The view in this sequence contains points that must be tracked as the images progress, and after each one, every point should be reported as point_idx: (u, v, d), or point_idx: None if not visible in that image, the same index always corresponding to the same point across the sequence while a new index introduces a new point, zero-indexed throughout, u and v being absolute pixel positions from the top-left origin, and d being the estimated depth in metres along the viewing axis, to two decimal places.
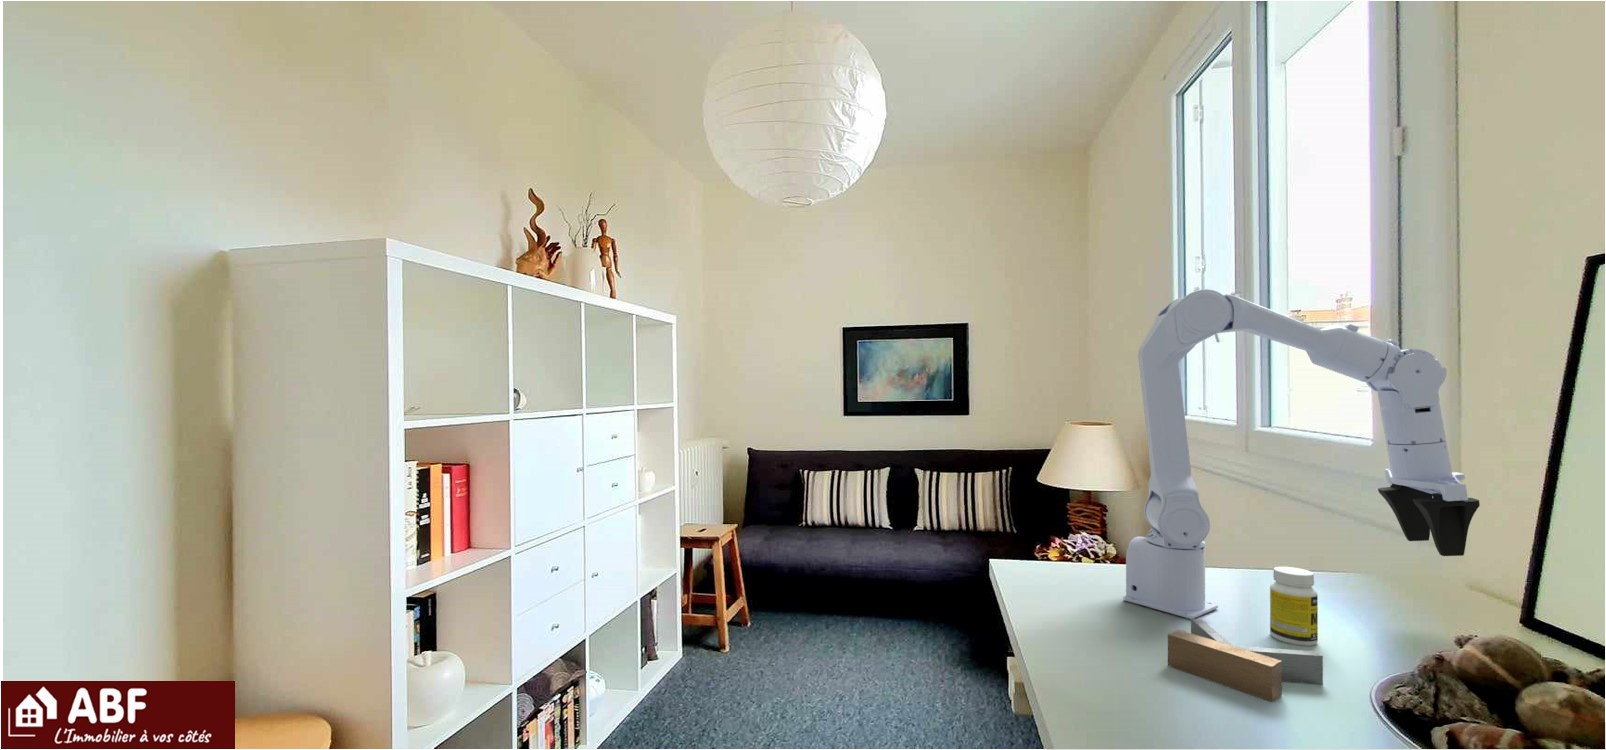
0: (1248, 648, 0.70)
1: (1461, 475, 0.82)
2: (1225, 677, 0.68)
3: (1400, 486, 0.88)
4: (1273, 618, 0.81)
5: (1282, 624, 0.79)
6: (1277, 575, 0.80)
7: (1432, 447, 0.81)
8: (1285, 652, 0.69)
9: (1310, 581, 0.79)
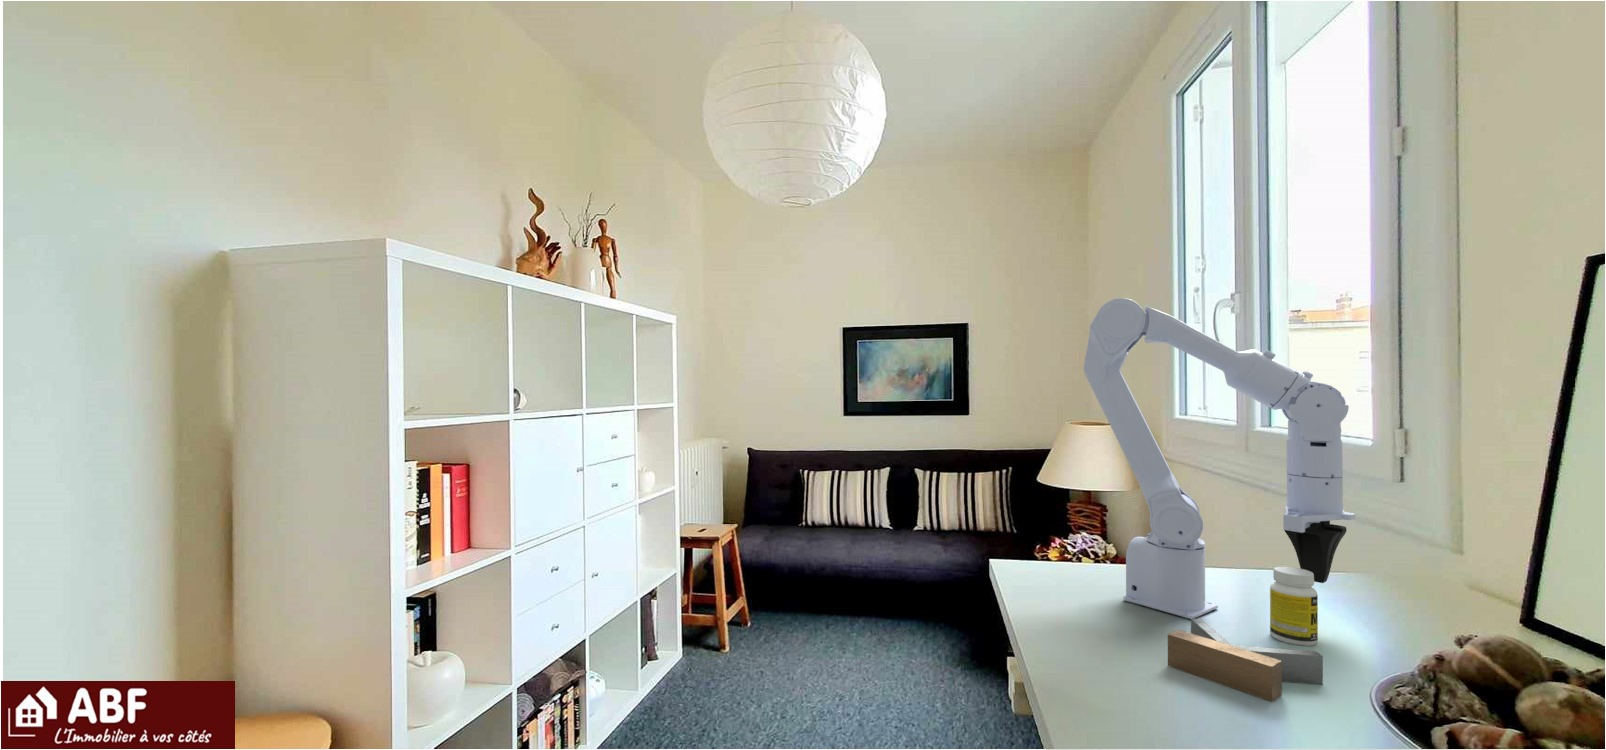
0: (1248, 648, 0.70)
1: (1346, 515, 0.81)
2: (1225, 677, 0.68)
3: None
4: (1273, 618, 0.81)
5: (1282, 624, 0.79)
6: (1277, 575, 0.80)
7: (1309, 481, 0.83)
8: (1285, 652, 0.69)
9: (1310, 581, 0.79)
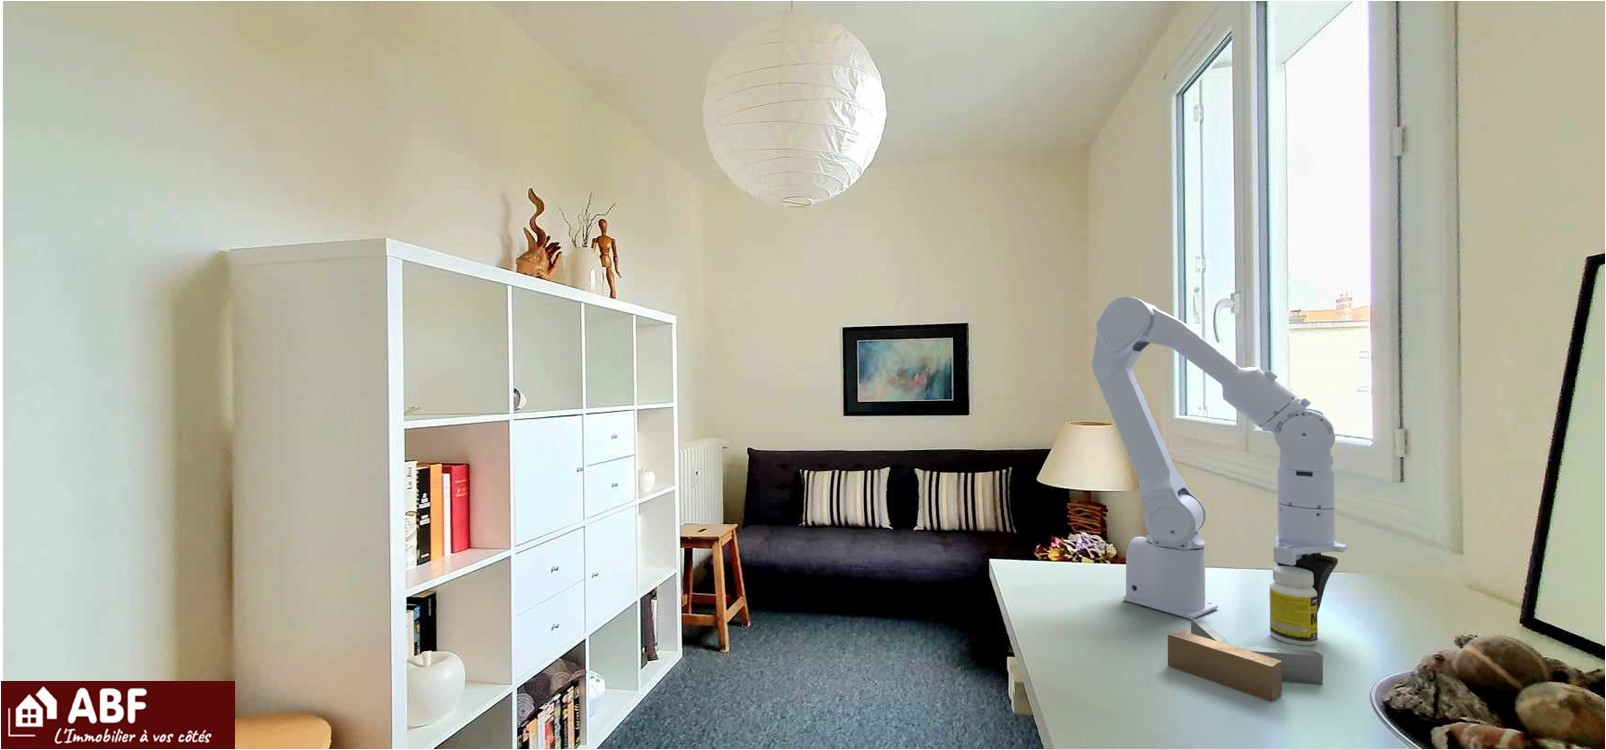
0: (1248, 648, 0.70)
1: (1337, 547, 0.79)
2: (1225, 677, 0.68)
3: None
4: (1273, 618, 0.80)
5: (1282, 624, 0.79)
6: (1277, 576, 0.80)
7: (1301, 511, 0.81)
8: (1285, 652, 0.69)
9: (1309, 581, 0.78)
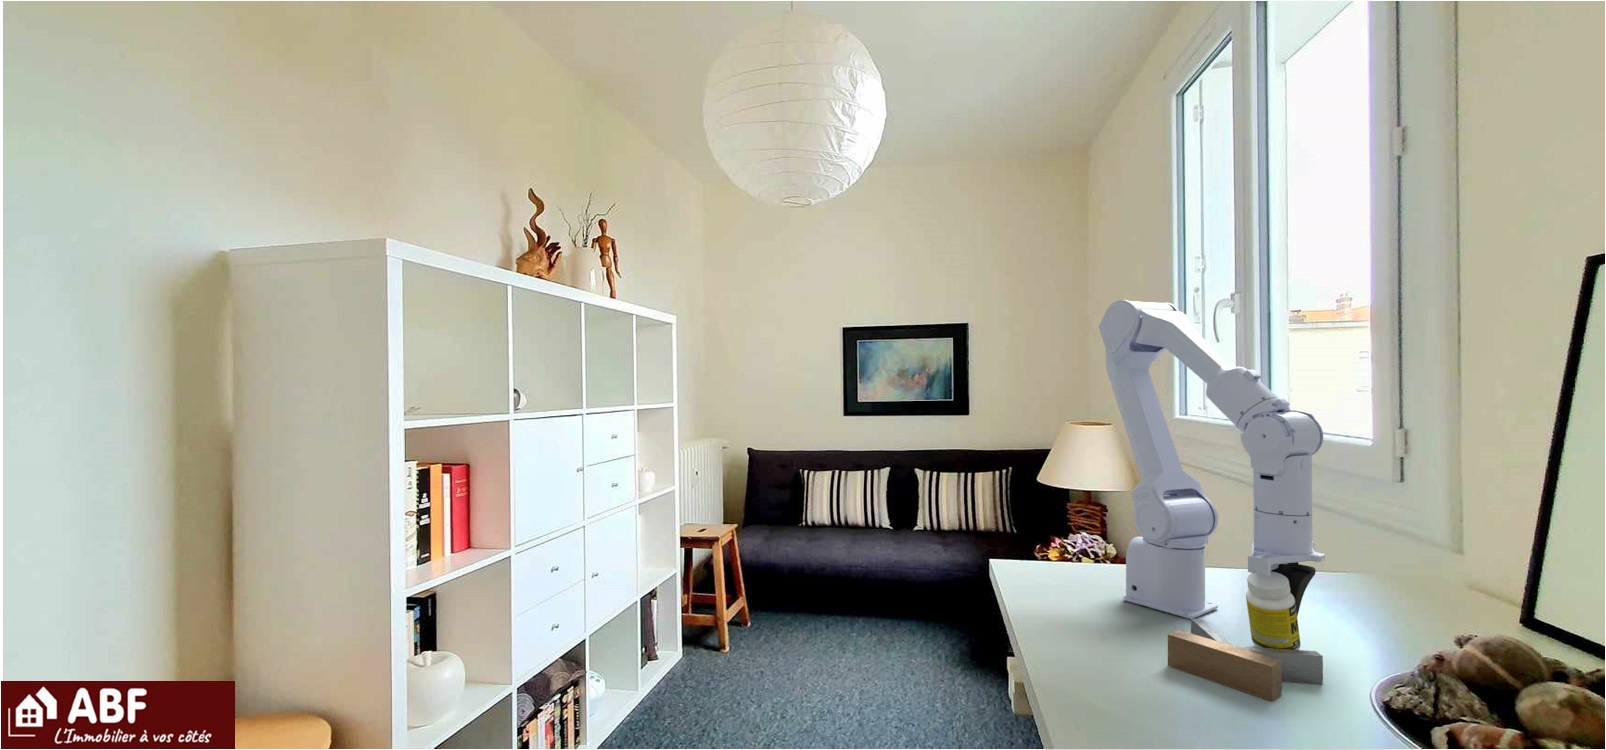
0: (1248, 648, 0.70)
1: (1315, 556, 0.75)
2: (1225, 677, 0.68)
3: None
4: (1253, 629, 0.77)
5: (1263, 636, 0.76)
6: (1252, 588, 0.76)
7: (1277, 518, 0.77)
8: (1285, 652, 0.69)
9: (1286, 591, 0.74)
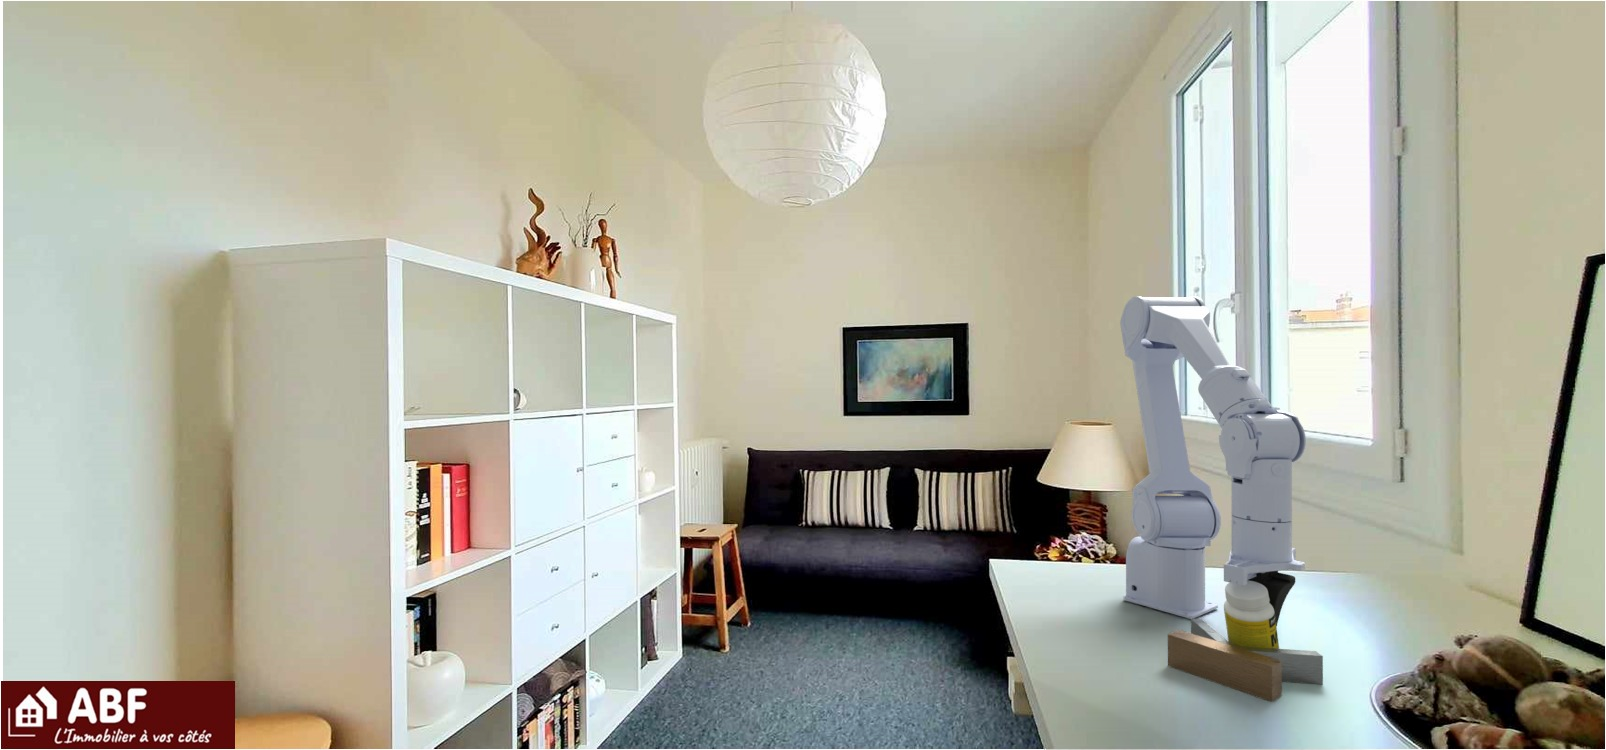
0: (1248, 648, 0.70)
1: (1294, 565, 0.72)
2: (1225, 677, 0.68)
3: None
4: (1232, 641, 0.73)
5: None
6: (1230, 599, 0.72)
7: (1255, 525, 0.73)
8: (1285, 652, 0.69)
9: (1265, 601, 0.71)
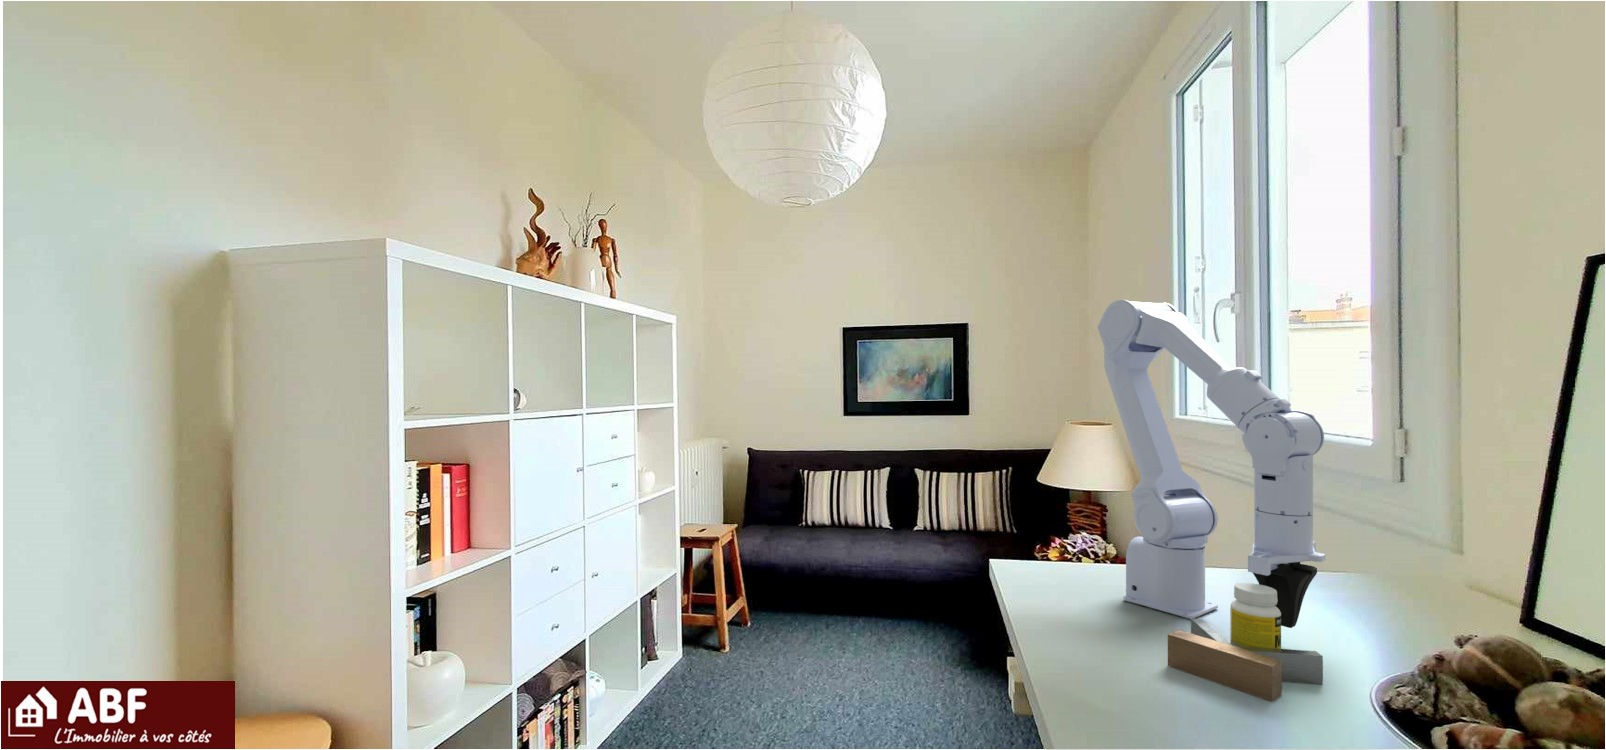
0: (1248, 648, 0.70)
1: (1315, 556, 0.75)
2: (1225, 677, 0.68)
3: None
4: (1235, 640, 0.74)
5: None
6: (1239, 593, 0.73)
7: (1277, 518, 0.77)
8: (1285, 652, 0.69)
9: (1274, 599, 0.72)
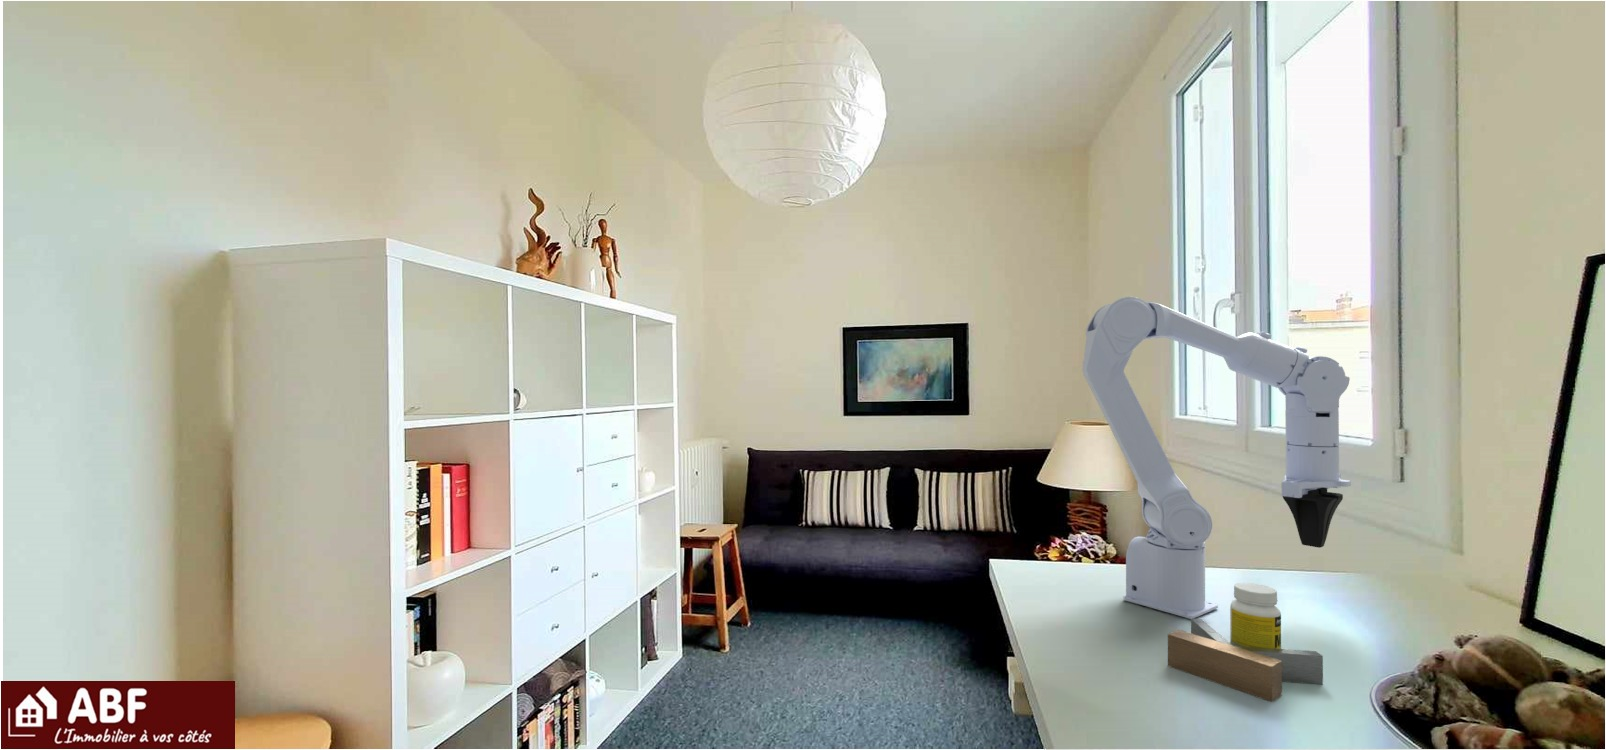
0: (1248, 648, 0.70)
1: (1341, 482, 0.85)
2: (1225, 677, 0.68)
3: None
4: (1235, 640, 0.74)
5: None
6: (1239, 593, 0.74)
7: (1307, 450, 0.87)
8: (1285, 652, 0.69)
9: (1273, 599, 0.72)
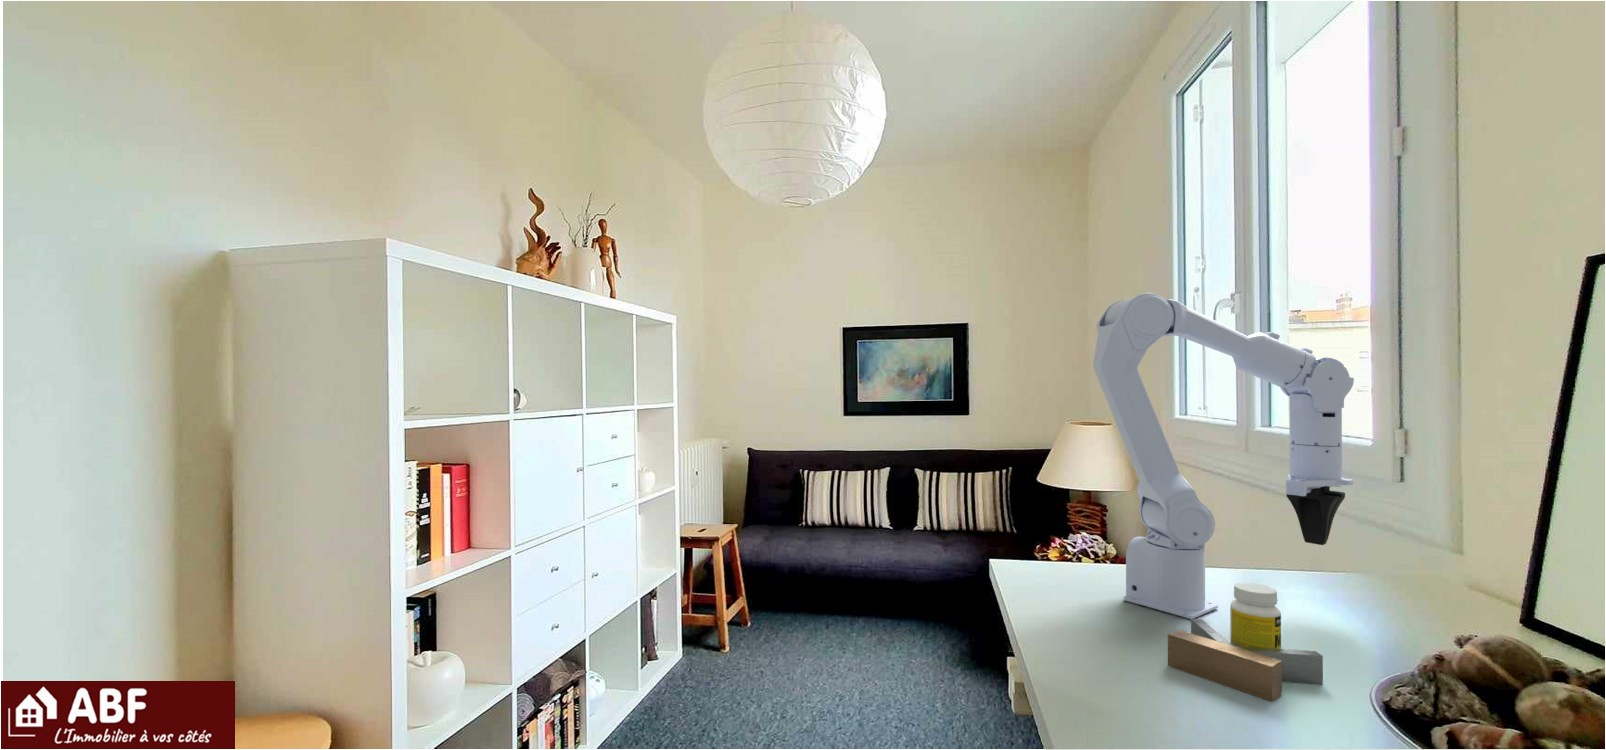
0: (1248, 648, 0.70)
1: (1344, 481, 0.87)
2: (1225, 677, 0.68)
3: None
4: (1235, 640, 0.74)
5: None
6: (1239, 593, 0.74)
7: (1311, 449, 0.88)
8: (1285, 652, 0.69)
9: (1273, 599, 0.72)
